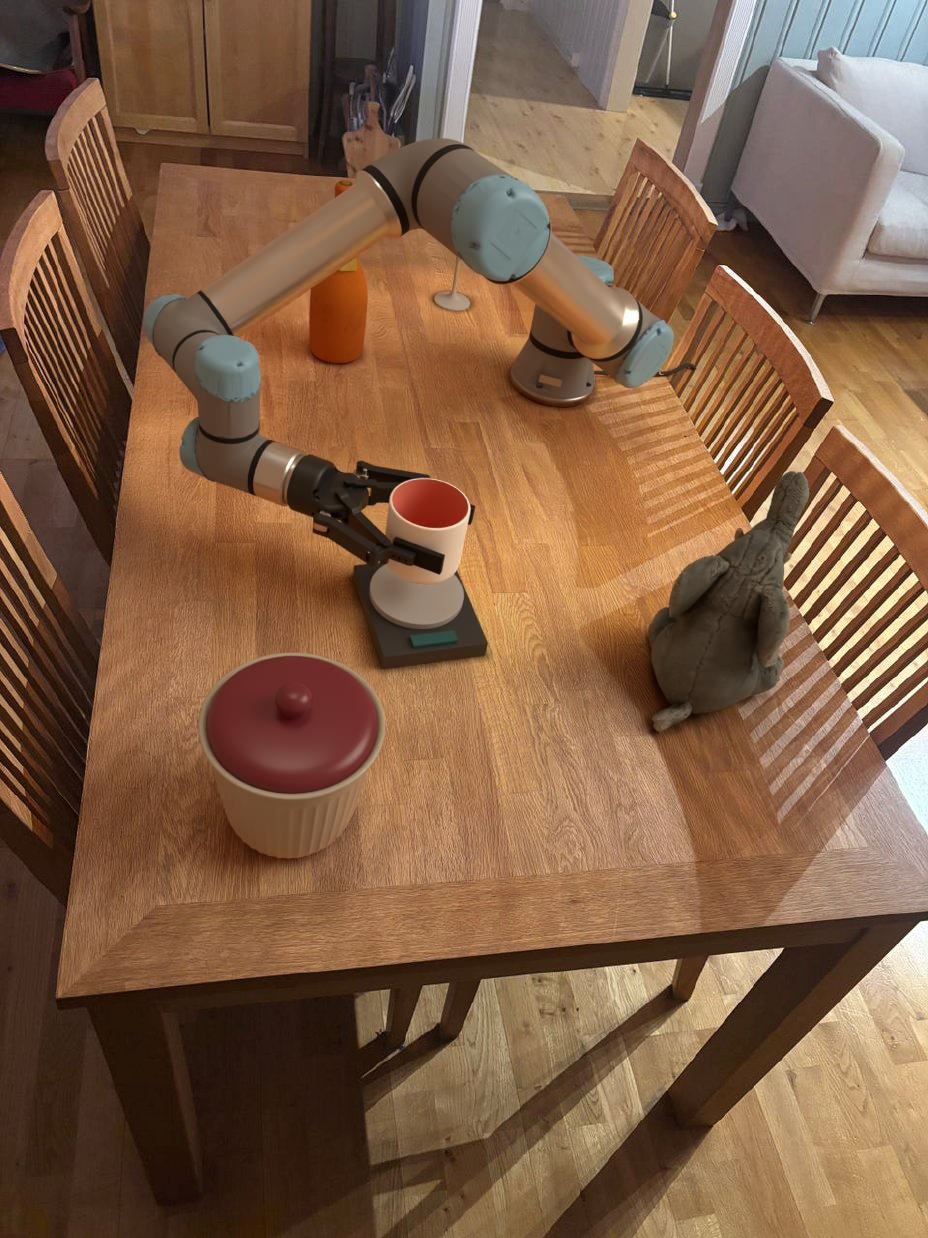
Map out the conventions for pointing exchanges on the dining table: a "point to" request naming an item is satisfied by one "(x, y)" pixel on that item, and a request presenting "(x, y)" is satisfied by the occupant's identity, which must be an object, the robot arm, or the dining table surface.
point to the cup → (428, 525)
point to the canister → (291, 749)
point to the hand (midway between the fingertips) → (458, 539)
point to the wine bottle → (339, 310)
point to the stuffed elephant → (728, 616)
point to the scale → (417, 618)
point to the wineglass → (452, 295)
